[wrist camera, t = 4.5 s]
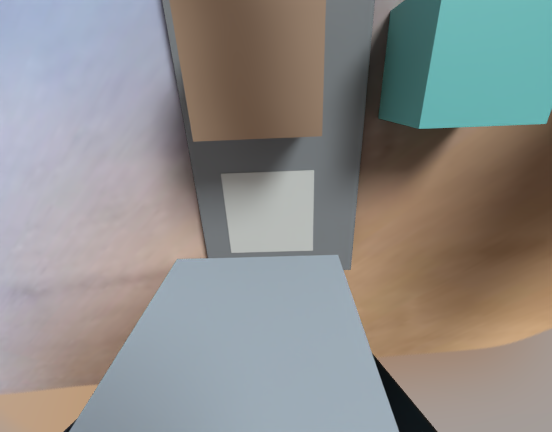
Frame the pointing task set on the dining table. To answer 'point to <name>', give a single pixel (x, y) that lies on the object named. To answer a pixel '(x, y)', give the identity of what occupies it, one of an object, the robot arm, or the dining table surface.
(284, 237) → the mat
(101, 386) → the grey block
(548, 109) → the teal block
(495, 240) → the dining table surface
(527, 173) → the dining table surface
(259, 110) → the walnut block
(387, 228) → the dining table surface
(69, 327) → the dining table surface
